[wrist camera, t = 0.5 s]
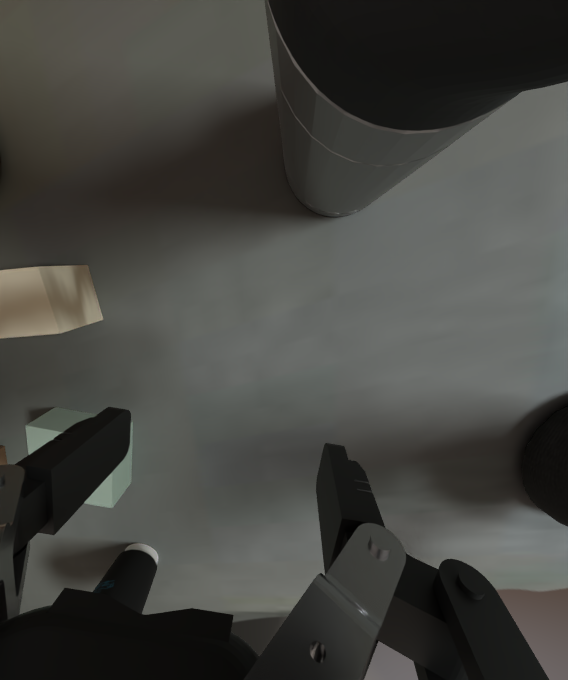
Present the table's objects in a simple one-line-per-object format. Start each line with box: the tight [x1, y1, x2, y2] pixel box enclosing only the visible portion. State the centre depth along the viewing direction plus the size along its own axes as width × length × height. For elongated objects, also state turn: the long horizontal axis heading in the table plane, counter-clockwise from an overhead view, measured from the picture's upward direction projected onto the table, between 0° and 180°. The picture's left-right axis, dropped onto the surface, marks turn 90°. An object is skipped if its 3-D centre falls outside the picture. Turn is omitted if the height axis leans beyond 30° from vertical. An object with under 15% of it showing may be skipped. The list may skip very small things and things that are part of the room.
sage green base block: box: [26, 407, 133, 508], centre depth 31 cm, size 9×9×4 cm
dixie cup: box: [93, 543, 158, 614], centre depth 33 cm, size 8×8×11 cm
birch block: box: [0, 265, 103, 338], centre depth 25 cm, size 6×6×6 cm
